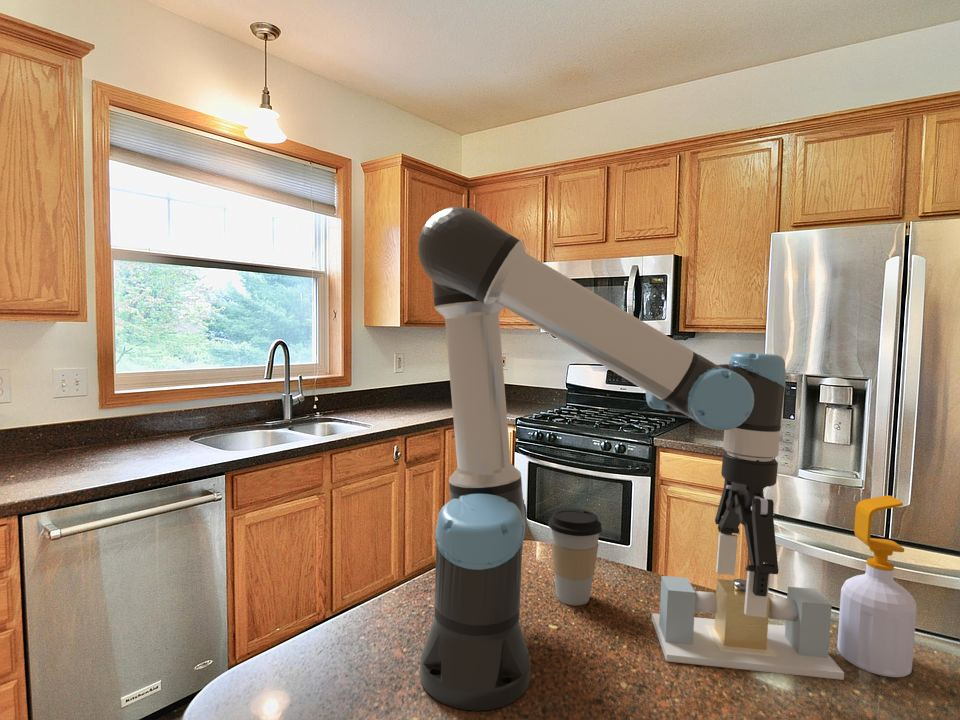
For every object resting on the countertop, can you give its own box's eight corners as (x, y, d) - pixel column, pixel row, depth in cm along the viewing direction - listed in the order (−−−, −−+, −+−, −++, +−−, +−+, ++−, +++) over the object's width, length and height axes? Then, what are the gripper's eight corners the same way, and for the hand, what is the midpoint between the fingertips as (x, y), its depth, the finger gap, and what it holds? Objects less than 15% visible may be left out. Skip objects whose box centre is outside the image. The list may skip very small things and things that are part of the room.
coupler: (766, 649, 82) (769, 592, 82) (724, 645, 83) (727, 588, 82) (754, 631, 87) (757, 577, 87) (714, 628, 88) (717, 573, 87)
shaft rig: (666, 661, 80) (669, 600, 80) (651, 619, 92) (654, 566, 92) (843, 679, 77) (848, 617, 77) (805, 633, 89) (808, 579, 89)
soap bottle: (925, 683, 77) (938, 510, 76) (853, 673, 79) (864, 504, 78) (891, 648, 86) (903, 492, 85) (827, 639, 88) (837, 486, 86)
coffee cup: (606, 595, 100) (610, 513, 100) (587, 616, 92) (590, 528, 92) (558, 581, 105) (561, 503, 105) (536, 600, 98) (539, 516, 97)
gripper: (815, 479, 70) (801, 640, 72) (747, 441, 95) (737, 561, 96) (753, 473, 71) (740, 633, 73) (702, 437, 96) (692, 557, 97)
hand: (738, 592), depth 84 cm, fingers open, 13 cm apart
